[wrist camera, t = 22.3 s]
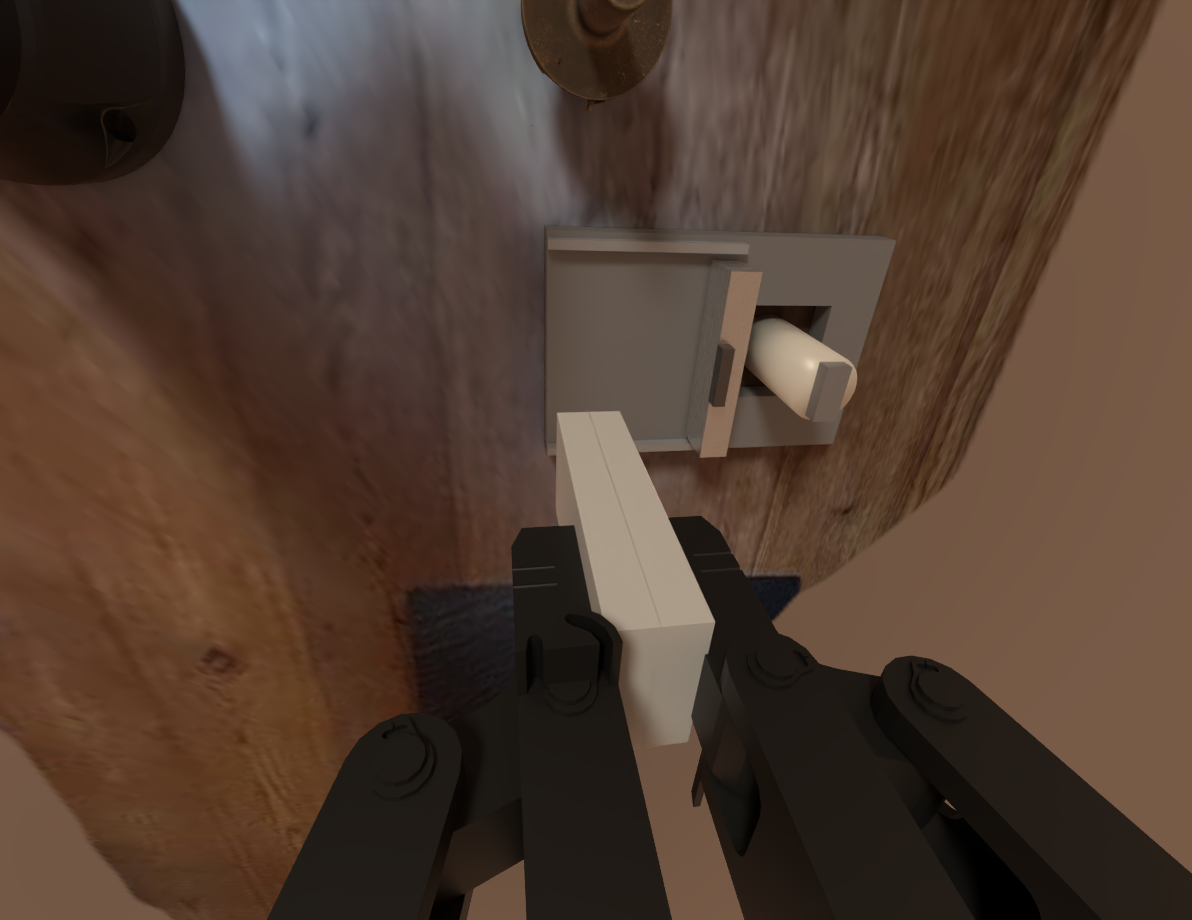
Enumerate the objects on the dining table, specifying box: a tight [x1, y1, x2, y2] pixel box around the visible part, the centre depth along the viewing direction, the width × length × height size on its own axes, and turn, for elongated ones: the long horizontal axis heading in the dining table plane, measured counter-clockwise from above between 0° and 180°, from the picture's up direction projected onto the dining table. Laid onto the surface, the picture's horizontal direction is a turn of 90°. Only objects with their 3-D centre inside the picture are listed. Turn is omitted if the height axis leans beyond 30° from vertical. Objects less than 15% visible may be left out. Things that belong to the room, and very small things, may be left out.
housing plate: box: [544, 226, 896, 456], centre depth 39 cm, size 24×16×3 cm, turn 87°
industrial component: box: [521, 0, 672, 127], centre depth 25 cm, size 9×7×12 cm
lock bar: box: [685, 260, 763, 458], centre depth 37 cm, size 2×13×4 cm, turn 177°
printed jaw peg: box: [744, 314, 857, 422], centre depth 37 cm, size 4×4×10 cm
